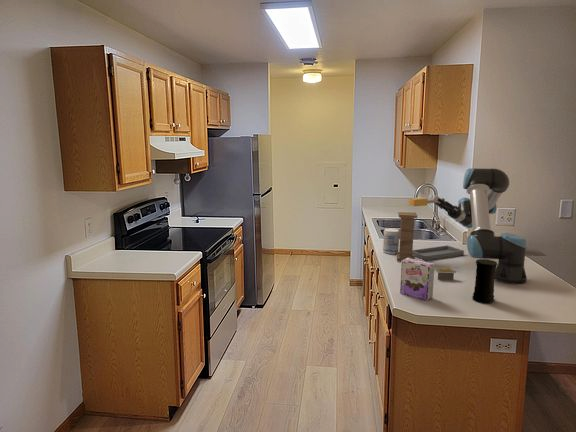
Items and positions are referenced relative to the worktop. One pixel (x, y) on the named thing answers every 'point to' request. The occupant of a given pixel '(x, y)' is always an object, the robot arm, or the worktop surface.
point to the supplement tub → (391, 241)
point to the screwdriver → (421, 201)
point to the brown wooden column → (406, 235)
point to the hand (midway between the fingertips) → (432, 196)
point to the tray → (437, 253)
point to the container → (484, 281)
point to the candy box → (417, 278)
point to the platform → (445, 273)
